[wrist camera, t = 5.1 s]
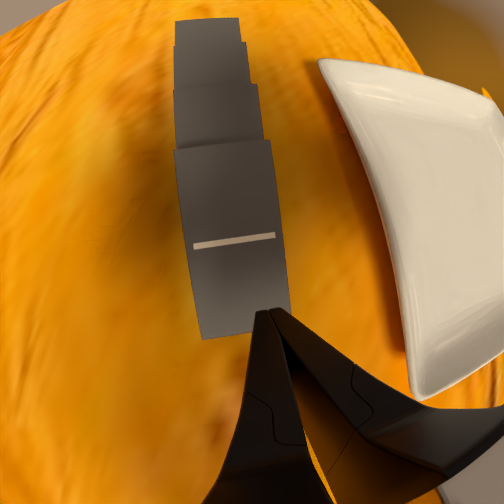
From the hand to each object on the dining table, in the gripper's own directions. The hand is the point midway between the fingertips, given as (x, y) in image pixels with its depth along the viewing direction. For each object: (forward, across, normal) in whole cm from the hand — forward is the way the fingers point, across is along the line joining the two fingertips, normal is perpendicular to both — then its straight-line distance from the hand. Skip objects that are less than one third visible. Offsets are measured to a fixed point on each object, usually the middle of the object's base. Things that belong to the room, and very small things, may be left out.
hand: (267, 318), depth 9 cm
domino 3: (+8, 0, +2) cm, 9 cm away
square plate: (+10, -22, +2) cm, 25 cm away
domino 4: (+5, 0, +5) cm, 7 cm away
